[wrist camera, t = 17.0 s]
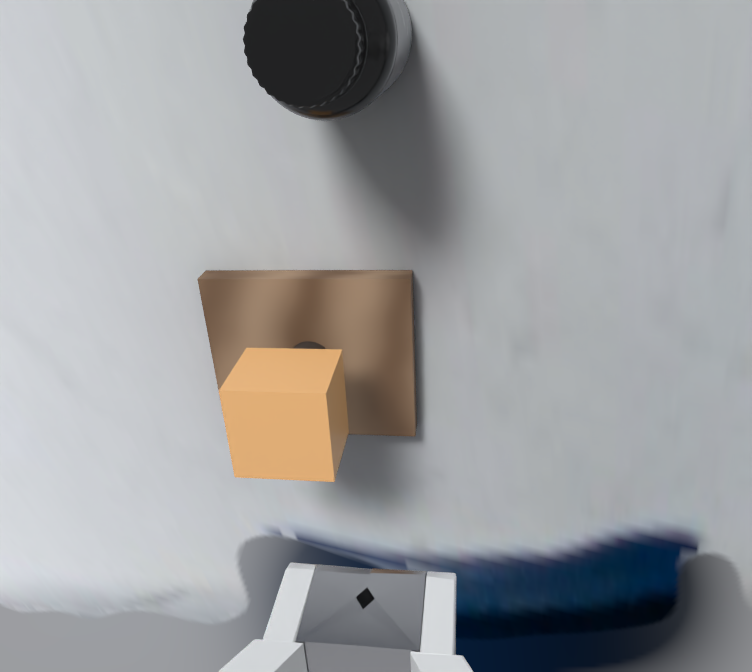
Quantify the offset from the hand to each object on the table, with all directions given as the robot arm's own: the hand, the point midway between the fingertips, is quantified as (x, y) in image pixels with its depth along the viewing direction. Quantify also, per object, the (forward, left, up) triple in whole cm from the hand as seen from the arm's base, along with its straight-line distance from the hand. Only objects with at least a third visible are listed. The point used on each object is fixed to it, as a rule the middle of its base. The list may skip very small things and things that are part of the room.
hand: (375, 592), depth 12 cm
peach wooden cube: (+9, +12, -26) cm, 30 cm away
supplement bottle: (+5, -8, -31) cm, 33 cm away
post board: (+9, +12, -31) cm, 34 cm away
